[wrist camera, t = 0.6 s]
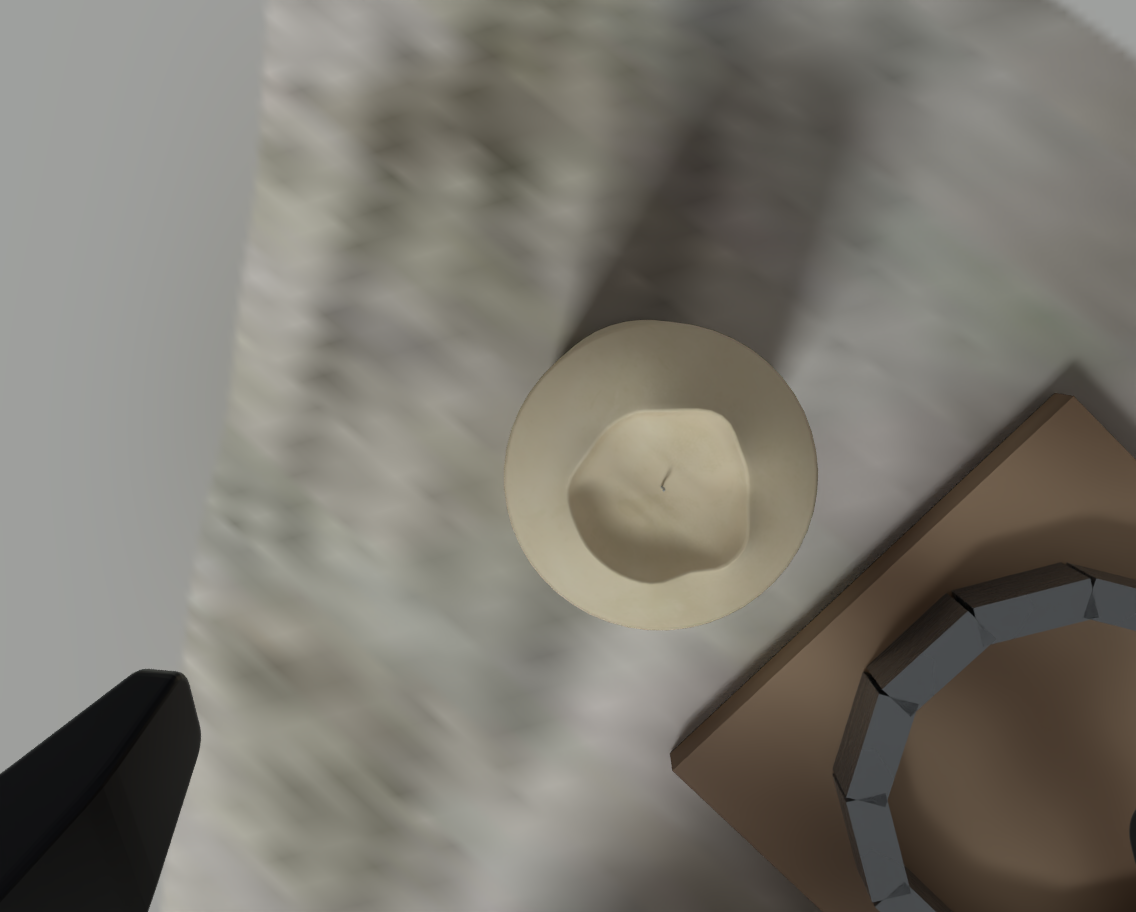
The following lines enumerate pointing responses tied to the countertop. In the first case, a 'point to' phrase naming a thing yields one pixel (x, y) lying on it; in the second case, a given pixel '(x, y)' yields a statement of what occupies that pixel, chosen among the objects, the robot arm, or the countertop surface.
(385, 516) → the countertop surface
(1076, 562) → the dock
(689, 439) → the candle
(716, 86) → the countertop surface
